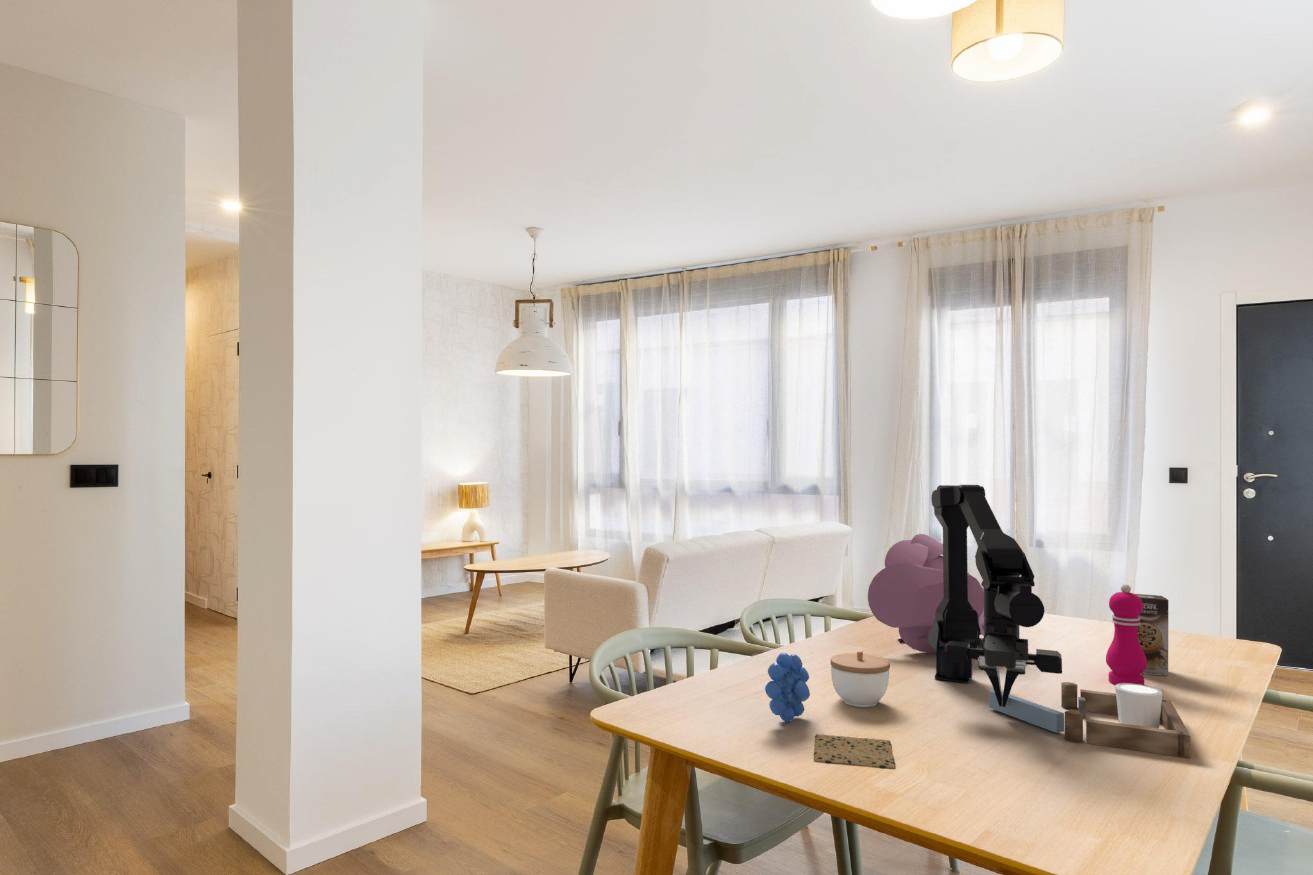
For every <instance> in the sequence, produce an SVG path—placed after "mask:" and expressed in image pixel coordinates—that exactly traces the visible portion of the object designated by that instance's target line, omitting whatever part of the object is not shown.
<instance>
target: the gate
mask: <svg viewBox="0 0 1313 875" xmlns="http://www.w3.org/2000/svg"><path fill="white" fill-rule="evenodd" d="M1003 692H1004V691H1002V707H1000V706H999V704H998V701H997V698H996V695H995V692H994V689H992V690H989V691H988V701H989V702H988V707H989V708H990V709H991V710H992V709H993V710H995V711H997V712H999V713H1003V714H1004V715H1008V716H1011V717H1013V718H1016V719H1018V720H1021V721H1024V722H1027V723H1029V724H1031V725H1035V726H1037V727H1040V728H1042V729H1046V730H1048V731H1050V732H1054V733H1056V734H1058V733H1062V732H1063V733H1065V712H1063V711H1059V710H1057V709H1054V708H1050V707H1047V706H1045V705H1042V704H1038V703H1035V702H1033V701H1030V700H1027V699H1024V698H1021V697H1018V696H1016V695H1013V694H1011V693H1010V694H1009V697H1008V700H1007V703H1006V706H1005V707H1003Z"/></svg>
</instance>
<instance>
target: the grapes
mask: <svg viewBox="0 0 1313 875" xmlns="http://www.w3.org/2000/svg"><path fill="white" fill-rule="evenodd" d="M775 661H776V662H773V663H772V664H770V665H769V667H768V668H767V673H768V676H769V678H770V680H769V681H768V682H767V684H766V685H765V687H764V690H765V693H766V696H767V697H768V698H769V699H771V700H770V701H769V703H768V705H769V709H770V711H771V712H772V714H773V715H775V716H779V718H780V719H781V720H782V721H783V722H785V723H790V722H791V721H793V720H794V718H795V717H800V716H802V715H803V713H804V712H805V707H804V704H803V702H806V701H807V700H808V699H809V698H810V696H811V694H810V689H809V686H808V685H807V682H808V681H809V679H810V675H809V672H808V671H807V669H806V668H805V667H803V660H802V659H801V658H800V656H798V655H797V654H790V655H789V654H788V653H787V652H781V653H779V654H778V656H777V657H776V659H775Z"/></svg>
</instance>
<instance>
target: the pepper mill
mask: <svg viewBox="0 0 1313 875" xmlns="http://www.w3.org/2000/svg"><path fill="white" fill-rule="evenodd" d="M1131 590H1132V588H1131V586H1130V585H1129V584H1122V585H1121V586H1120V591H1118V593H1116V592H1115V593H1114V594H1112V595H1111V596H1110V597H1109V600H1108V607H1109V610H1110V611H1111V612H1112V613H1113V614H1112V615H1111V618H1112V619H1111V622H1112V623H1113V625H1114V631H1113V639H1112V640H1111V643H1110V645H1109V647H1108V649H1107V651H1106V653H1105V654H1106V655H1105V663H1106V665H1107V666H1108V667H1109V668H1110V671H1109V672H1108V682H1109V683H1110V684H1112V685H1114V686H1115V685H1117V684H1122V683H1130V684H1140V685H1145V676H1144V675H1143V673H1142V672H1144V671H1145V670H1146V668H1147V659H1146V656H1145V654H1144V652H1143V650H1142V648H1141V645H1140V643H1139V640H1138V625H1140V621H1139V620H1140V618H1139V617H1138V616H1139V614H1140V613H1141V612H1142V611H1143V603H1142V600H1141V599H1140V598H1139V597H1138V596H1137V595H1135V594H1136V593H1133V592H1131Z"/></svg>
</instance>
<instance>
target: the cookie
mask: <svg viewBox="0 0 1313 875" xmlns="http://www.w3.org/2000/svg"><path fill="white" fill-rule="evenodd" d="M892 745H893V744H892V743H891V740H888V739H879V738H877V739H876V738H868V737H855V736H854V737H852V736H844V735H833V734H832V735H831V734H819V733H816V734H815V735H814V749H813V762H814V763H821V764H833V765H843V766H856V767H867V768H877V769H888V770H896V768H897V766H896V765H897V764H896V762H895V757H894V754H893V746H892Z"/></svg>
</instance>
